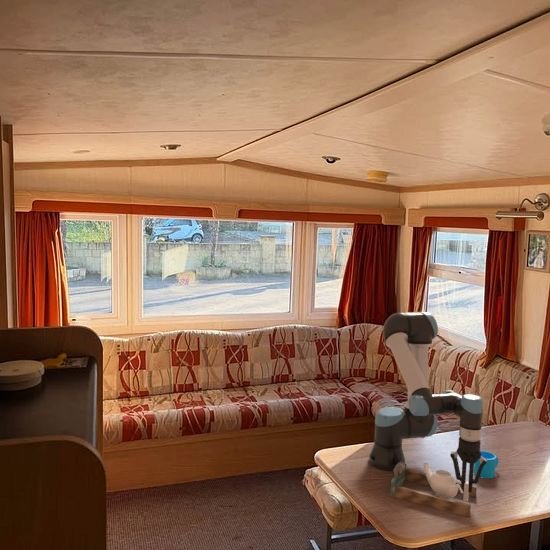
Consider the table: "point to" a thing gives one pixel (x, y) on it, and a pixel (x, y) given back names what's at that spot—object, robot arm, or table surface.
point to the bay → (426, 498)
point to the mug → (487, 465)
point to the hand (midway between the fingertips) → (465, 499)
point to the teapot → (442, 482)
